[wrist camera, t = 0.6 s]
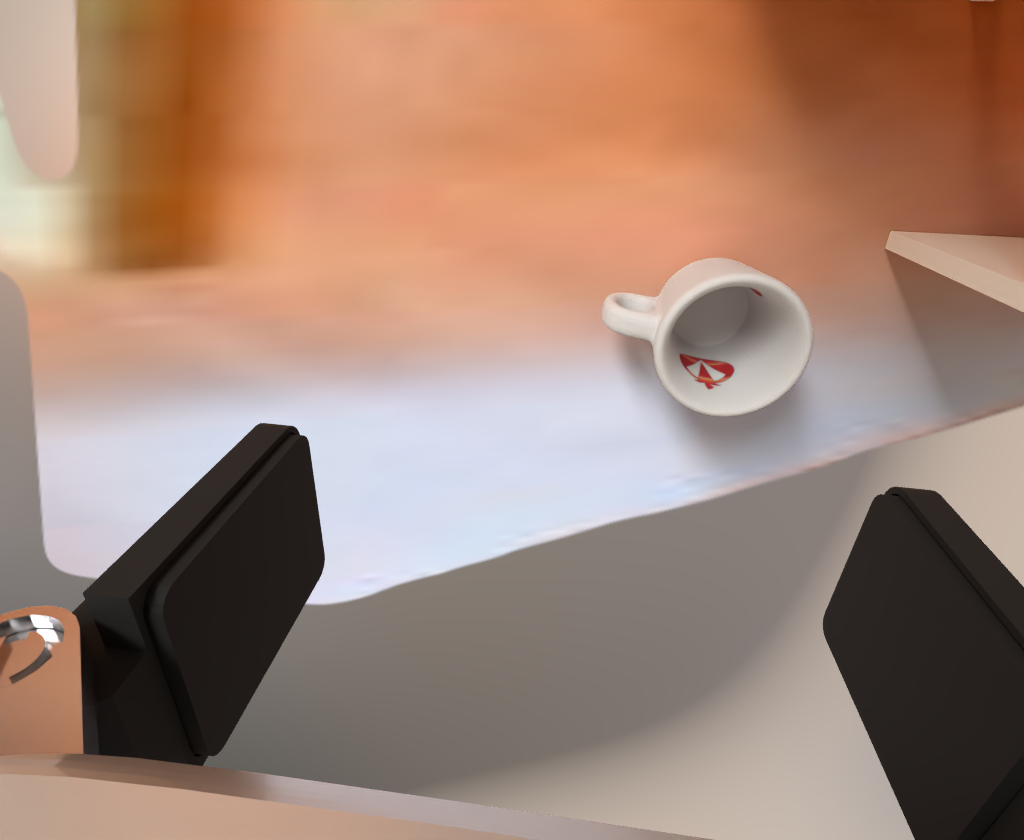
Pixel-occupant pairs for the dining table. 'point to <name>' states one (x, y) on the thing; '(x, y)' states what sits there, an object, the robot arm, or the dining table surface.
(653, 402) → the dining table surface
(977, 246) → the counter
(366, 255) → the dining table surface
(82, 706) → the robot arm
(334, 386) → the dining table surface
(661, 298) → the cup
